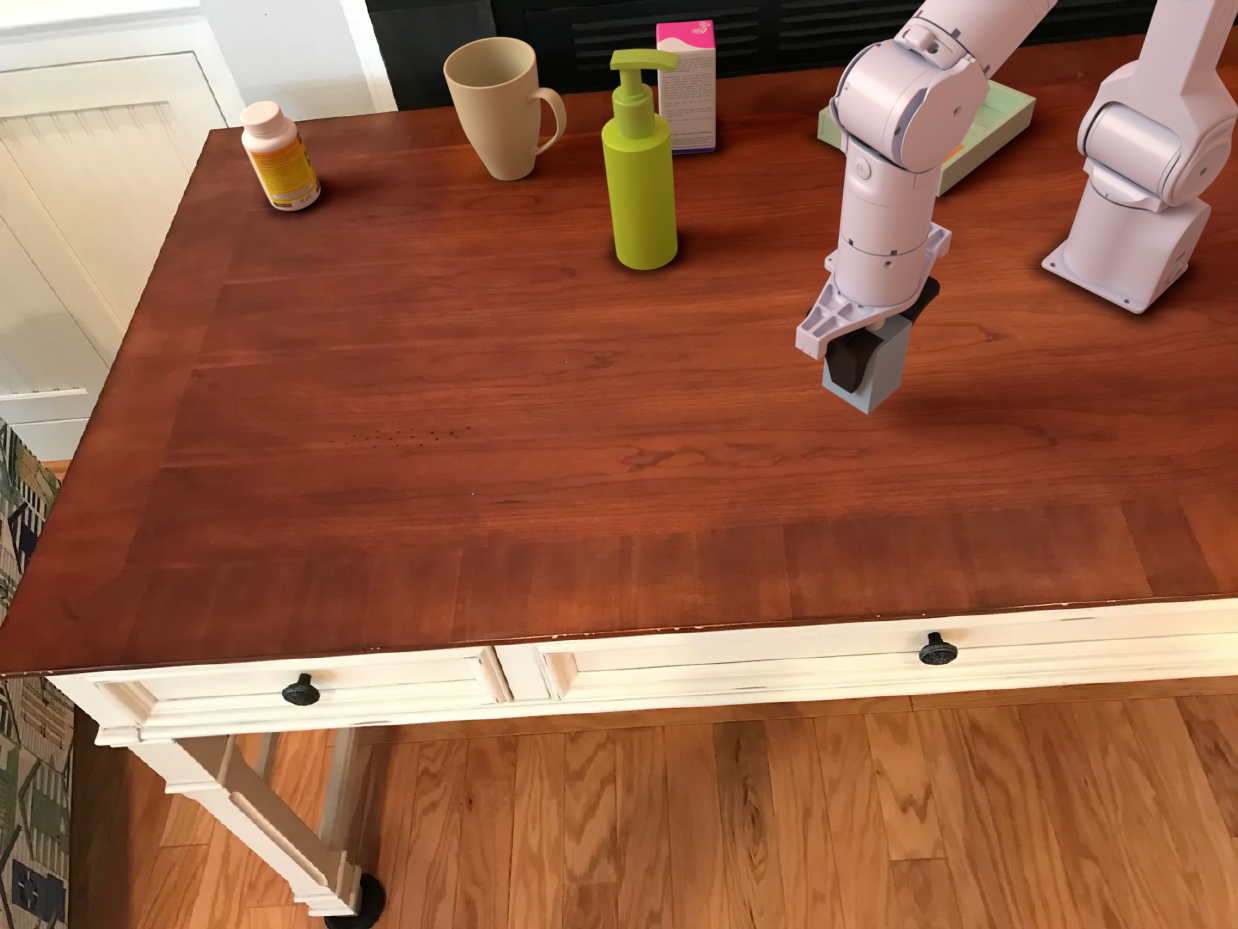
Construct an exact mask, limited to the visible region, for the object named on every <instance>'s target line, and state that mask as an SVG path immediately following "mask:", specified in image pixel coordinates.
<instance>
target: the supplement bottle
mask: <svg viewBox="0 0 1238 929" xmlns="http://www.w3.org/2000/svg"><path fill="white" fill-rule="evenodd" d="M281 109H282V108H281V107H280V105H279V104H278V103H277V102H275V101H271V100H262V101H256V102H254V103H251V104H250V105H248V106H247V107H245V108H244V109H243V110H242V111H241V113H240V122H241V123H242V126H243V132H242V134H241V143H242V145H243V148H244V150H245V152H246V154H247V156H248V158H249V161H250V163H251V166H252V167H253V169H254V171H255V173H256V174H255V175H256V176H257V178H258V180H259V183H260V184H261V187H262V188H263V191H264V193H265V195H266V197H267V199H268V201H269V203H270V204H271V205H272V207H274V208H275V209H277V210H280V211H283V212H284V211H285V212H295V211H299V210H303V209H305V208H306V207H308V206H311V204H313V203H314V202H316V200H318V198H319V196H320V194H321V189H322V188H321V184H320V183H321V182H320V181H319V179H318V178H319V177H318V176H317V173H316V171H315V169H314V166H313V164H312V161H311V159H310V156H309V154H308V152H307V149H306V146H305V144H304V141H303V139H302V137H301V134H300V132H299V130H298V127H297V125H296V123H295V121H293V120H292V119H291V118H289V117H287V116H285V115H284V112H283V111H282V110H281Z"/></svg>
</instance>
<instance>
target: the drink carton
mask: <svg viewBox="0 0 1238 929" xmlns="http://www.w3.org/2000/svg"><path fill="white" fill-rule="evenodd" d="M912 328H913V326H912V322H911V321H910V320H908V319H906V318H904V317H903V316H901V315H899V314H895V315H892V316H890V317H887V318H885V319H882V320H880V321H877V322H874V323H872V324H869V325H867V326H866V327H865V329H867V330H868V331H870V332H872V333H873V334H875V335H877V336H878V337H880V338H882V339H883V340H884V341H883V342H882V343H881V344H880V345H879V346H878V347H877V348H876V349H875V351H874V352H873V354H872V355H871V357H870V359H869V361H868V363H867V366H866V369H865V373H864V376H863V379H862V382H861V384H860V386H859V387H858V389H857V390H856V391H855V392H854V393H852V394H850V393H849V392H847V391H845V390H844V389H842V388H841V387H839V386H838V385H836V384H835V383H833V382H832V381H831V377H830V373H829V369H828V365H827V362H826V359H825V358H824V364H823V373H822V383H821V386H822V387H824V388H825V389H827V390H828V391H830V392H832V393H833V394H834V395H836V396H838V397H839V398H840V399H842V400H844V401H845V402H847V403H848V404H850V405H851V406H853V407H854V408H856V409H857V410H859V411H860V412H862V413H864V414H865V415H870V413H872V412H873V411H874V410H875V409H876V408H877V407H879V406H880V404H882V403H883V402H884V401H885V400H886V399H888V397H890V396H891V395H892V394H893V393H894V392H895V391H896V390H898V389H899V388H900V387H901V384H902V378H903V373H904V368H905V362H906V358H907V354H908V353H907V352H908V348H909V342H910V336H911V331H912Z"/></svg>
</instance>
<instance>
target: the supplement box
mask: <svg viewBox="0 0 1238 929" xmlns="http://www.w3.org/2000/svg"><path fill="white" fill-rule="evenodd" d="M655 28H656V29H655V31H656V32H655V33H656V50H662V51H667V52H671V53H675V54H678V55H680V57H679V61H678V65H677V68H676V69H675V70H674V71H673V72H668V71H663V70H657V86H658V88H657V89H658V91H657V92H658V114H659V115H661V116H662V117H664V118H665V119H666V120H667V121H668V123H669V125H670V133H671V150H672V156H673V155H684V154H700V153H711V152H715V151H716V133H717V132H716V127H717V126H716V124H717V122H716V120H717V118H716V110H717V109H716V107H717V106H716V101H717V97H716V96H717V95H716V94H717V93H716V91H717V90H716V89H717V88H716V85H717V83H716V76H717V74H716V67H717V66H716V64H717V63H716V62H717V61H716V60H717V59H716V57H717V56H716V55H717V54H716V48H717V47H716V39H715V30H714V21H713V20H711V19H708V20H694V21H682V22H662V23H660V22H659V23H657V24H656V27H655Z"/></svg>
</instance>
